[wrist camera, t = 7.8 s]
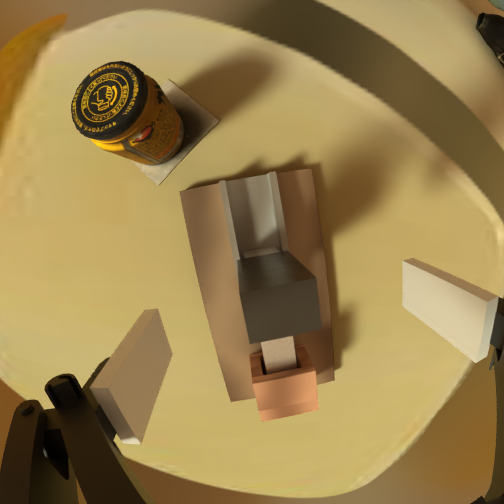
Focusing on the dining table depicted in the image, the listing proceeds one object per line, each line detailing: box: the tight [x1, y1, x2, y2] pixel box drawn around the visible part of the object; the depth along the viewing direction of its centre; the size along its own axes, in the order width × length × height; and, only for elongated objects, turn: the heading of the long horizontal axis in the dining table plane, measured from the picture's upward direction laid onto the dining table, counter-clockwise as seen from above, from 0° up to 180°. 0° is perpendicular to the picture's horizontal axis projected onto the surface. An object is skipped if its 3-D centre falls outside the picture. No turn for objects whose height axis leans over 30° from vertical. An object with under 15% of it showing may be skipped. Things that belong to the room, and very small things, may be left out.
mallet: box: [237, 246, 322, 375], centre depth 21 cm, size 4×14×11 cm, turn 10°
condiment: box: [71, 61, 219, 186], centre depth 19 cm, size 7×8×12 cm
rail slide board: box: [180, 168, 335, 421], centre depth 25 cm, size 12×23×7 cm, turn 10°
